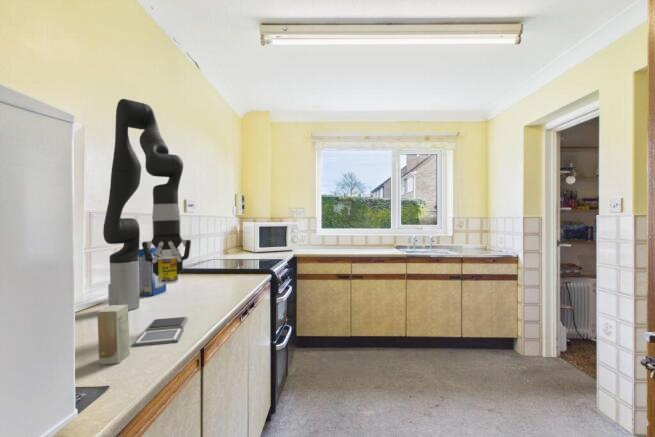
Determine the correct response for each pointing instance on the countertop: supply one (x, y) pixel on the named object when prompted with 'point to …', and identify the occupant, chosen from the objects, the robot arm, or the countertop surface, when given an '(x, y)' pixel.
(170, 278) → the supplement bottle
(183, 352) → the countertop surface
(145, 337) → the grey square pad
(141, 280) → the milk carton
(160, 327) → the ink pad
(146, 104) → the robot arm
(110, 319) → the skincare box
